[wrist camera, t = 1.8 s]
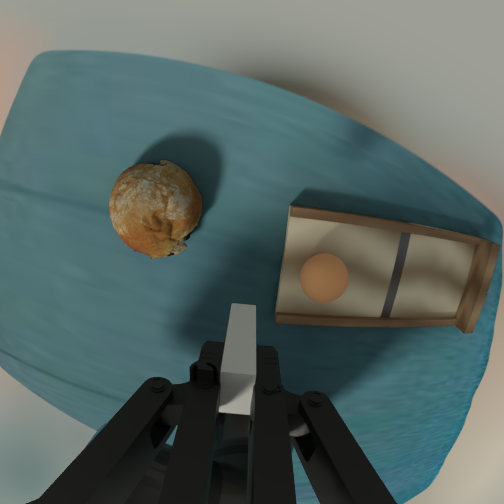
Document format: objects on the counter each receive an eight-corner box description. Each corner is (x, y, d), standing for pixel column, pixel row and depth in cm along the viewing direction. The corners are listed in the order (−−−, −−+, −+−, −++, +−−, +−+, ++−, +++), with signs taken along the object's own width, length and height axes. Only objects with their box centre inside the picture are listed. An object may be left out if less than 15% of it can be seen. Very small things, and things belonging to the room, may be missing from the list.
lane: (456, 318, 34) (472, 332, 29) (274, 314, 33) (277, 334, 29) (480, 237, 30) (500, 245, 26) (289, 204, 29) (295, 210, 25)
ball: (335, 292, 31) (348, 312, 26) (293, 289, 31) (299, 309, 26) (344, 250, 30) (360, 264, 25) (300, 245, 29) (308, 259, 25)
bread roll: (207, 172, 32) (192, 137, 24) (208, 259, 30) (190, 245, 23) (131, 182, 32) (101, 154, 25) (127, 263, 31) (90, 252, 23)
